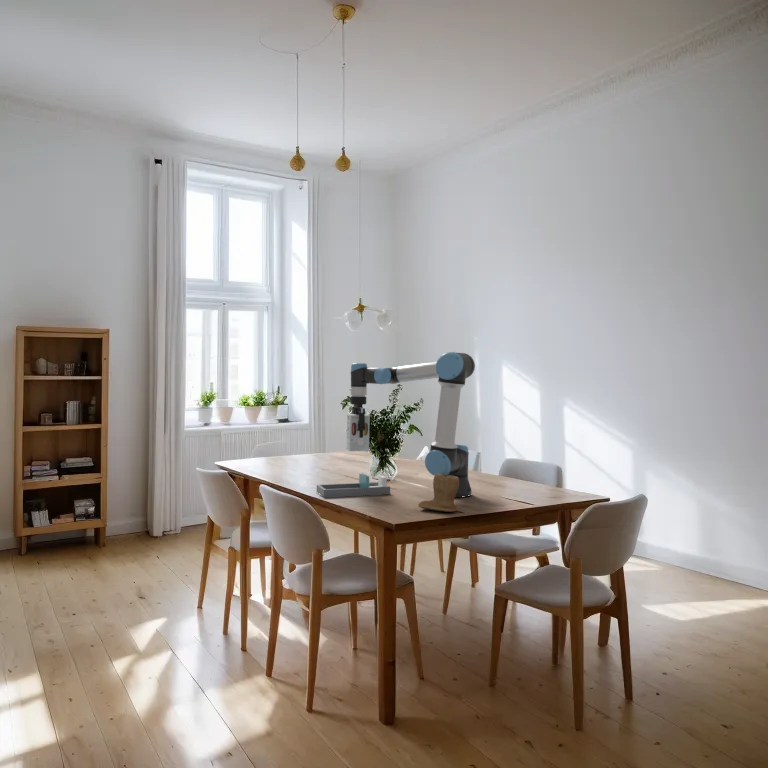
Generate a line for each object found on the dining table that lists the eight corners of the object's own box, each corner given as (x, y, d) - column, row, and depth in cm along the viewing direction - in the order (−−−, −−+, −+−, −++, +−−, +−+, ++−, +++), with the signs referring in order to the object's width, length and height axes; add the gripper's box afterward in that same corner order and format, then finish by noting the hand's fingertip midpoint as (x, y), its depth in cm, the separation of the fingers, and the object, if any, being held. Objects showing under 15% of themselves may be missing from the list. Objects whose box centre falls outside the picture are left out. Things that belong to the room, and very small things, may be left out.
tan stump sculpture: (464, 510, 276) (465, 473, 275) (450, 515, 266) (451, 477, 265) (431, 506, 284) (432, 470, 284) (417, 510, 274) (417, 473, 274)
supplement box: (349, 451, 315) (349, 415, 314) (345, 449, 324) (346, 413, 323) (369, 451, 317) (370, 415, 317) (365, 448, 326) (366, 413, 326)
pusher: (388, 491, 311) (388, 475, 310) (365, 492, 307) (366, 476, 307) (380, 487, 321) (380, 472, 320) (359, 488, 317) (359, 473, 317)
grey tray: (390, 494, 309) (390, 486, 309) (323, 497, 299) (323, 489, 299) (380, 489, 322) (380, 482, 322) (316, 492, 312) (316, 484, 312)
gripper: (345, 394, 329) (344, 441, 330) (356, 396, 308) (355, 446, 309) (360, 395, 331) (359, 440, 332) (372, 396, 310) (371, 446, 311)
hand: (357, 443), depth 320 cm, fingers closed on supplement box, 9 cm apart
